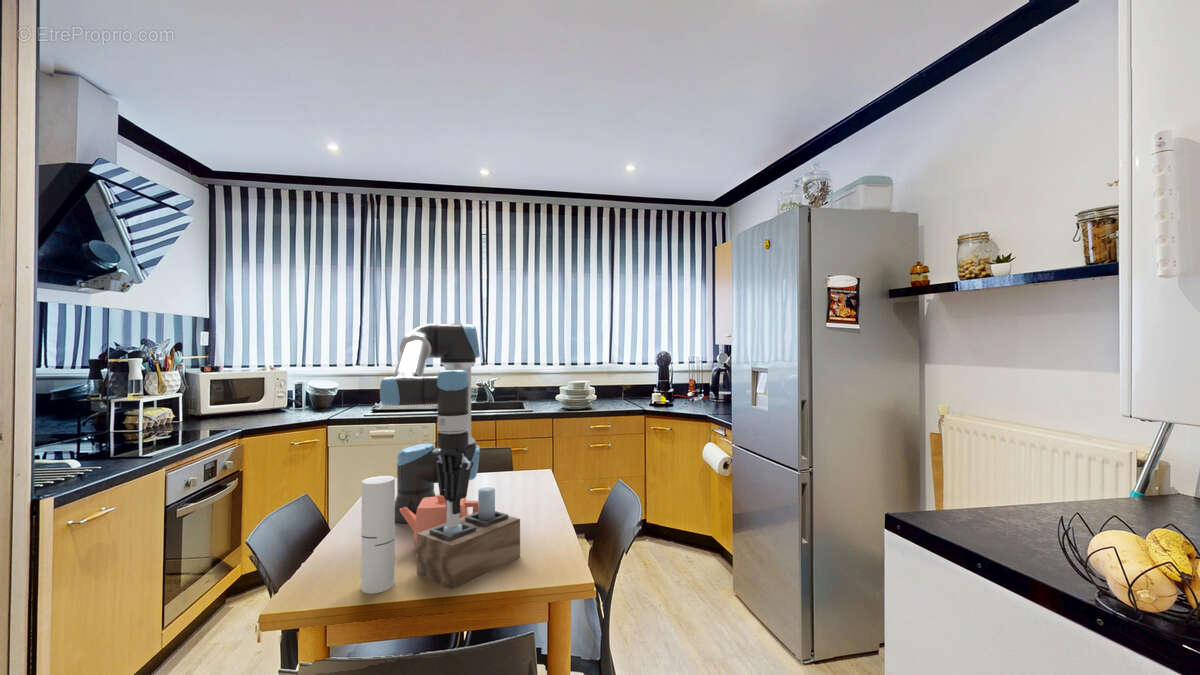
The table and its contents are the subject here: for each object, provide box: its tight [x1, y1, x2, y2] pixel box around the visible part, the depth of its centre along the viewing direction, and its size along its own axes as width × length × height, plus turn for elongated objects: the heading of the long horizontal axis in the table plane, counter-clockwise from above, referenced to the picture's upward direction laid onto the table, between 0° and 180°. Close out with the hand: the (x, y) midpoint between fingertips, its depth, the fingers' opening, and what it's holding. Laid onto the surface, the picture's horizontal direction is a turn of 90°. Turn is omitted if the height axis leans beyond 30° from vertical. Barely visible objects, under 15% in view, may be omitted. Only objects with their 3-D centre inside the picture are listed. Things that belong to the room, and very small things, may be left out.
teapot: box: [400, 493, 478, 548], centre depth 140 cm, size 22×13×14 cm, turn 101°
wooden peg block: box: [416, 510, 521, 590], centre depth 126 cm, size 14×22×11 cm, turn 144°
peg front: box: [444, 524, 462, 535], centre depth 122 cm, size 4×4×9 cm
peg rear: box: [477, 487, 496, 521], centre depth 131 cm, size 4×4×9 cm
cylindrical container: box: [360, 475, 396, 595], centre depth 115 cm, size 7×7×25 cm
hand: (452, 525), depth 122 cm, fingers closed
